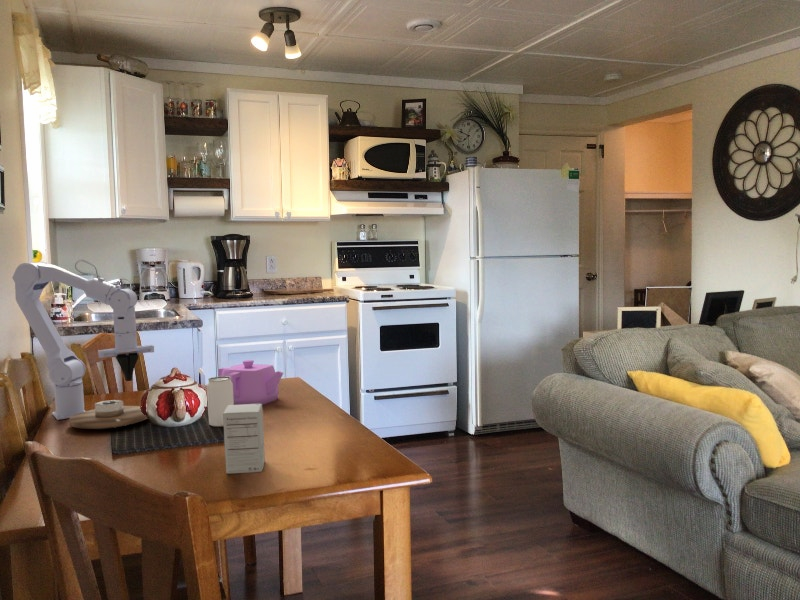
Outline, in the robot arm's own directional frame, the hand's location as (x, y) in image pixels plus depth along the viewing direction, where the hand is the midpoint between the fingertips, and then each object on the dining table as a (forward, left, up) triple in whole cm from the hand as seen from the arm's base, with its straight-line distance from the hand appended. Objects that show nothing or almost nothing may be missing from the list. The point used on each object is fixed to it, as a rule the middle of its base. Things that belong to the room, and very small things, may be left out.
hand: (128, 380), depth 199 cm
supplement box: (+68, +7, -10) cm, 69 cm away
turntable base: (+9, -7, -9) cm, 15 cm away
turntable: (+9, -7, -8) cm, 14 cm away
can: (+29, +16, -10) cm, 34 cm away
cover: (+9, -7, -7) cm, 14 cm away
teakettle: (+8, +33, -10) cm, 35 cm away
